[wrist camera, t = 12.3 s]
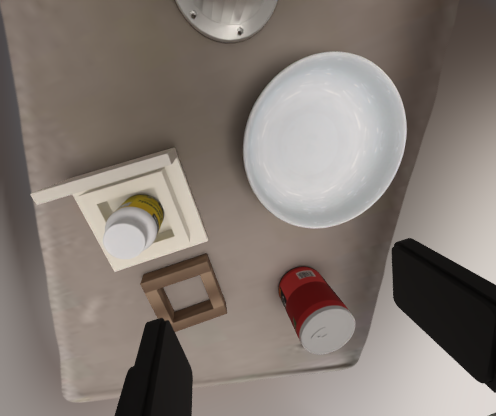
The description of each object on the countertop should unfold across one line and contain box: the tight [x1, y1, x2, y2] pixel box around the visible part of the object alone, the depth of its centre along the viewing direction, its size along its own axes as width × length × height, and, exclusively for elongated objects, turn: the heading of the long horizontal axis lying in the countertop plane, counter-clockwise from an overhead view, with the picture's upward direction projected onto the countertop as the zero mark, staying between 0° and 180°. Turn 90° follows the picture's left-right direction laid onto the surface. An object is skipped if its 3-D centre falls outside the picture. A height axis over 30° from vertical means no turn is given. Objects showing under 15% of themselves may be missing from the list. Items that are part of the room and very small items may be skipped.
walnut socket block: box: [140, 254, 227, 332], centre depth 39 cm, size 10×10×2 cm
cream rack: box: [30, 147, 208, 272], centre depth 32 cm, size 14×14×8 cm
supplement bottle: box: [103, 194, 164, 259], centre depth 30 cm, size 5×5×10 cm
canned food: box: [279, 267, 355, 354], centre depth 39 cm, size 8×8×11 cm
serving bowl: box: [243, 51, 406, 228], centre depth 34 cm, size 21×21×7 cm
